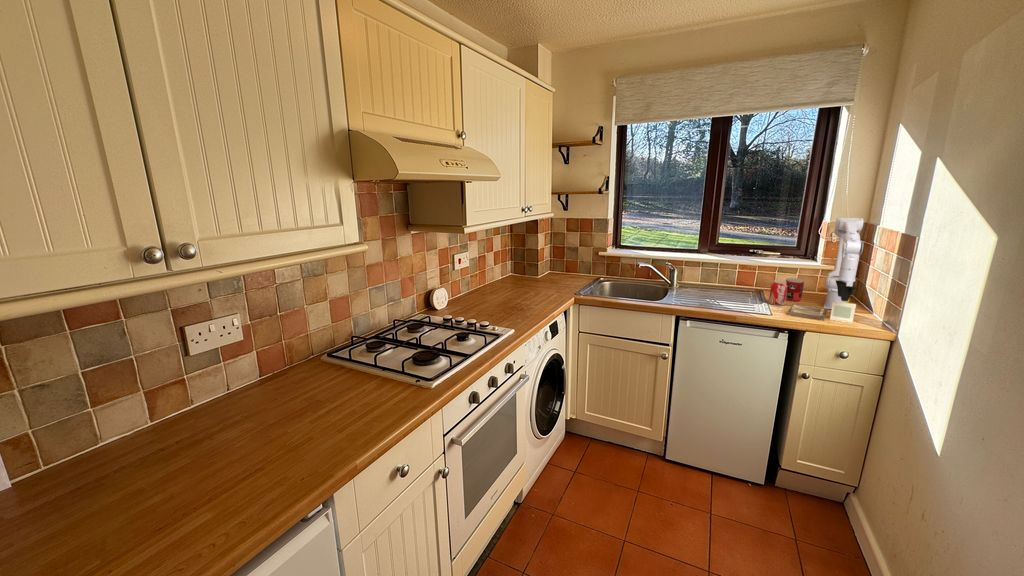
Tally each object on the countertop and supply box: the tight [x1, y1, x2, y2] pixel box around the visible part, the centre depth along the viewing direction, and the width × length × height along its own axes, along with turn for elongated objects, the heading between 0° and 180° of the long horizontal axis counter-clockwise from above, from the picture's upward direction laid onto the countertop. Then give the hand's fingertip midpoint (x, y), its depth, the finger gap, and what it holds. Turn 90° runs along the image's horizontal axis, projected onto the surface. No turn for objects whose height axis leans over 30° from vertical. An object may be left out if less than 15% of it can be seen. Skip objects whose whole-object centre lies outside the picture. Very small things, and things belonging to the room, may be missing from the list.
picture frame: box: [829, 301, 857, 324], centre depth 185 cm, size 5×8×8 cm, turn 50°
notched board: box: [786, 303, 829, 322], centre depth 197 cm, size 20×14×2 cm
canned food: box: [785, 277, 805, 303], centre depth 218 cm, size 8×8×11 cm
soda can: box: [768, 280, 788, 307], centre depth 210 cm, size 7×7×12 cm
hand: (842, 298), depth 183 cm, fingers open, 7 cm apart
